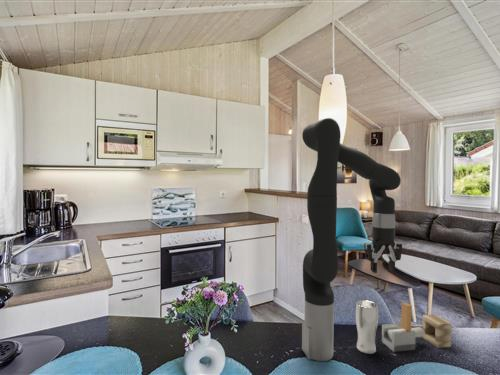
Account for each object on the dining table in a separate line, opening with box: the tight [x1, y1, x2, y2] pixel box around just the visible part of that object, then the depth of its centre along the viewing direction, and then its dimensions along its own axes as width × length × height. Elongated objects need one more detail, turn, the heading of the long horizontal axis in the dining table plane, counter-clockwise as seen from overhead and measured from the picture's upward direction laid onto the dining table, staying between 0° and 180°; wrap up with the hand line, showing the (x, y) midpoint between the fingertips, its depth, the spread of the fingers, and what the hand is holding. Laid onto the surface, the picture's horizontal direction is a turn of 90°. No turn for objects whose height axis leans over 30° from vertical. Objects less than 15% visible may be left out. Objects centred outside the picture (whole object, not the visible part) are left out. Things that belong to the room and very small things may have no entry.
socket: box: [421, 313, 452, 349], centre depth 102 cm, size 5×7×8 cm
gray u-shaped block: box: [381, 322, 417, 353], centre depth 99 cm, size 8×6×6 cm
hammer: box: [388, 302, 425, 340], centre depth 100 cm, size 12×3×12 cm, turn 100°
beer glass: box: [355, 299, 379, 355], centre depth 97 cm, size 7×7×15 cm
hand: (382, 272), depth 105 cm, fingers open, 6 cm apart
